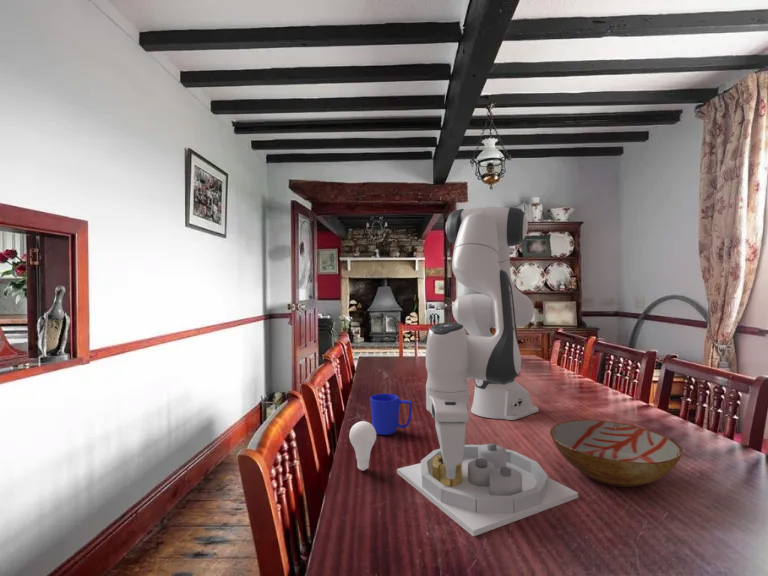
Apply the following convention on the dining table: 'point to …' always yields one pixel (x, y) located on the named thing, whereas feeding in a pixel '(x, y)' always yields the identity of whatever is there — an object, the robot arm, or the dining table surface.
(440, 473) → the wooden octagonal ring
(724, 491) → the dining table surface
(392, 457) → the dining table surface
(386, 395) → the mug
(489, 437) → the dining table surface
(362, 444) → the lightbulb
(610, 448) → the bowl
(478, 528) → the carrier board
